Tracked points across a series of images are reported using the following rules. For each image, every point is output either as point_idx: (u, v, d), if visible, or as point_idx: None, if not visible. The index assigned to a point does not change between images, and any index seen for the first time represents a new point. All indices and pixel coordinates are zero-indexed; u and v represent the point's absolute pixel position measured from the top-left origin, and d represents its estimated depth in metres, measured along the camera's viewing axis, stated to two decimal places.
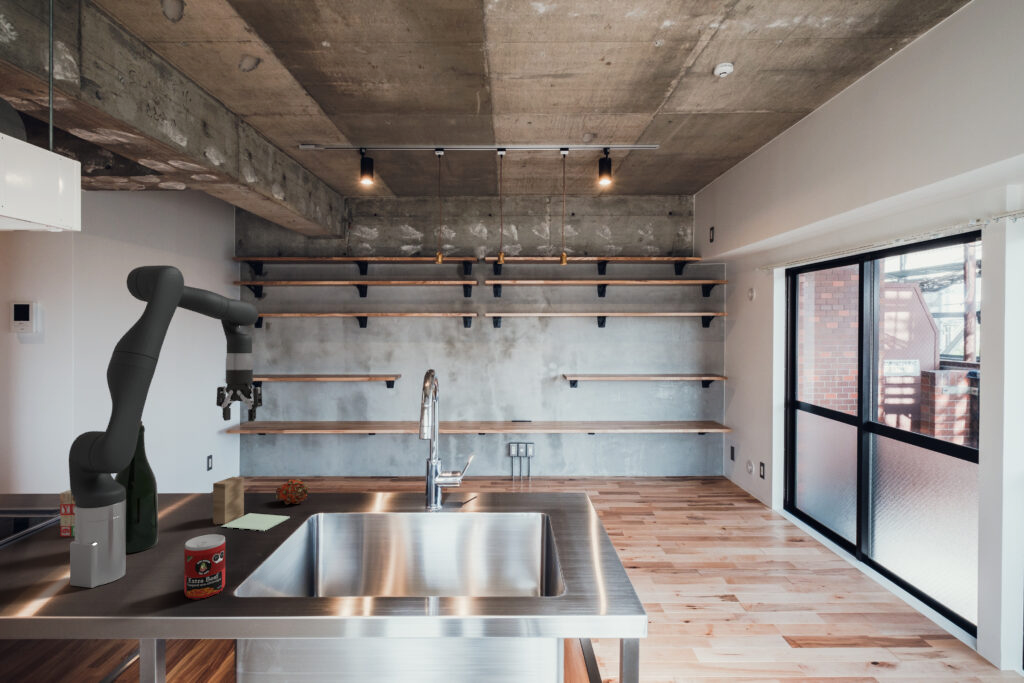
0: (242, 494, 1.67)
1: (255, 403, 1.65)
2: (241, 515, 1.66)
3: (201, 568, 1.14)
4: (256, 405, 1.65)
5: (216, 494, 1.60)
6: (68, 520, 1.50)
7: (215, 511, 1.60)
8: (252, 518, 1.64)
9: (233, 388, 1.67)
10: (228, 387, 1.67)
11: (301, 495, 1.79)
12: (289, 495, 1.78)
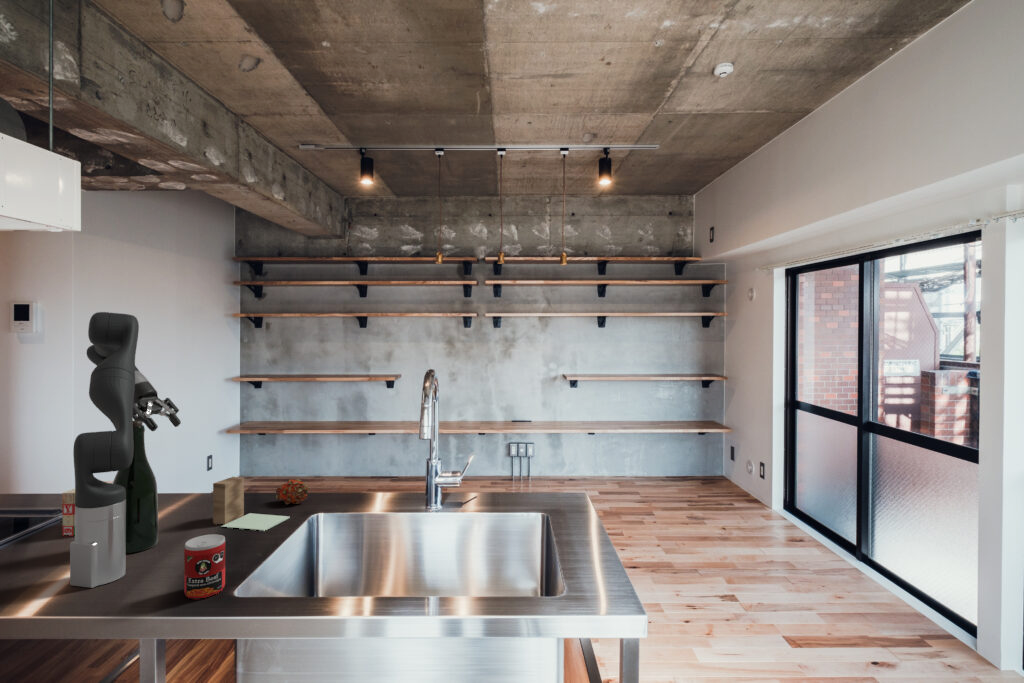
0: (242, 494, 1.67)
1: (176, 408, 1.76)
2: (241, 515, 1.66)
3: (201, 568, 1.14)
4: (177, 409, 1.76)
5: (216, 494, 1.60)
6: (70, 519, 1.50)
7: (215, 511, 1.60)
8: (252, 518, 1.64)
9: (147, 401, 1.69)
10: (141, 401, 1.68)
11: (301, 495, 1.79)
12: (289, 495, 1.78)
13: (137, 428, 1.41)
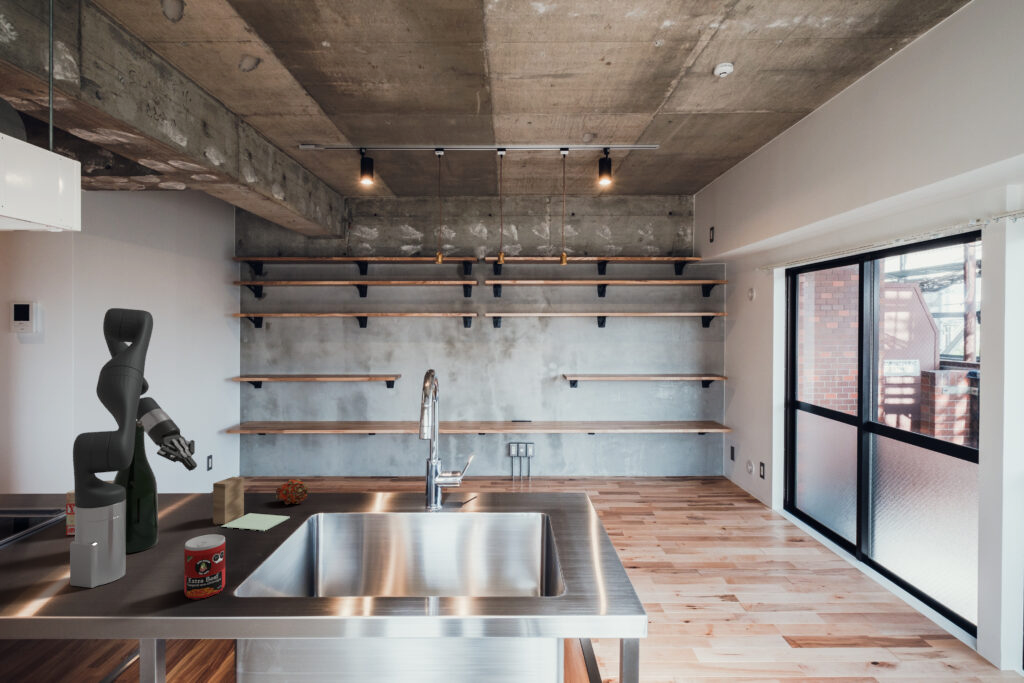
0: (242, 494, 1.67)
1: (192, 450, 1.70)
2: (241, 515, 1.66)
3: (201, 568, 1.14)
4: (193, 452, 1.70)
5: (216, 494, 1.60)
6: (74, 519, 1.51)
7: (215, 511, 1.60)
8: (252, 518, 1.64)
9: (170, 439, 1.67)
10: (164, 440, 1.64)
11: (301, 495, 1.79)
12: (289, 495, 1.78)
13: (137, 428, 1.41)
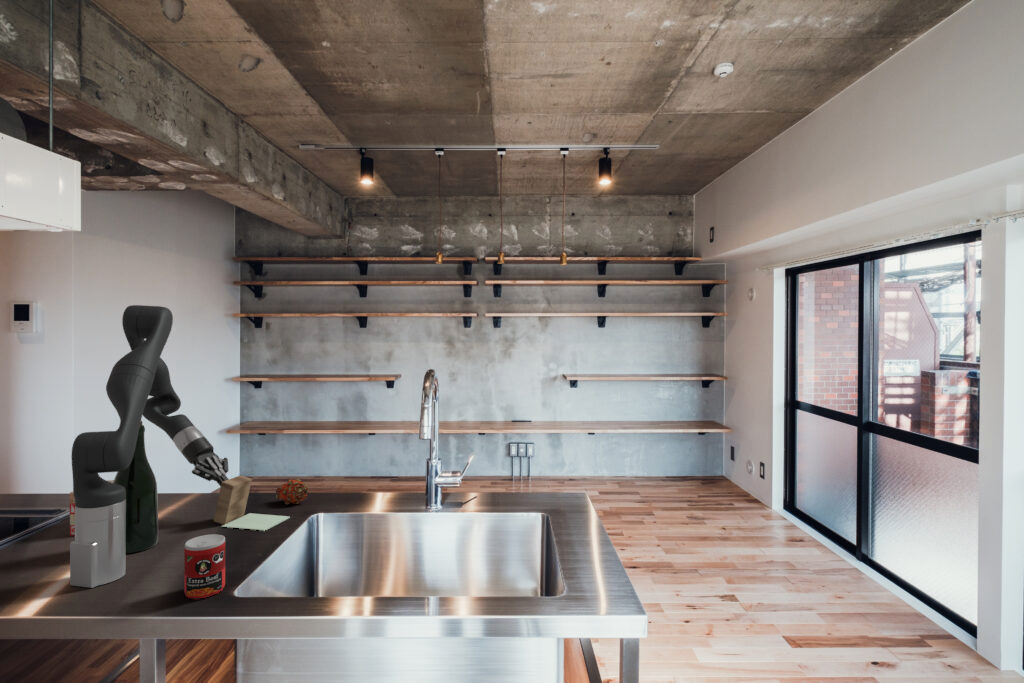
0: (246, 495, 1.66)
1: (226, 468, 1.67)
2: (241, 515, 1.66)
3: (201, 568, 1.14)
4: (227, 470, 1.67)
5: (222, 493, 1.60)
6: None
7: (218, 509, 1.60)
8: (252, 518, 1.64)
9: (204, 458, 1.64)
10: (198, 459, 1.62)
11: (301, 495, 1.79)
12: (289, 495, 1.78)
13: None
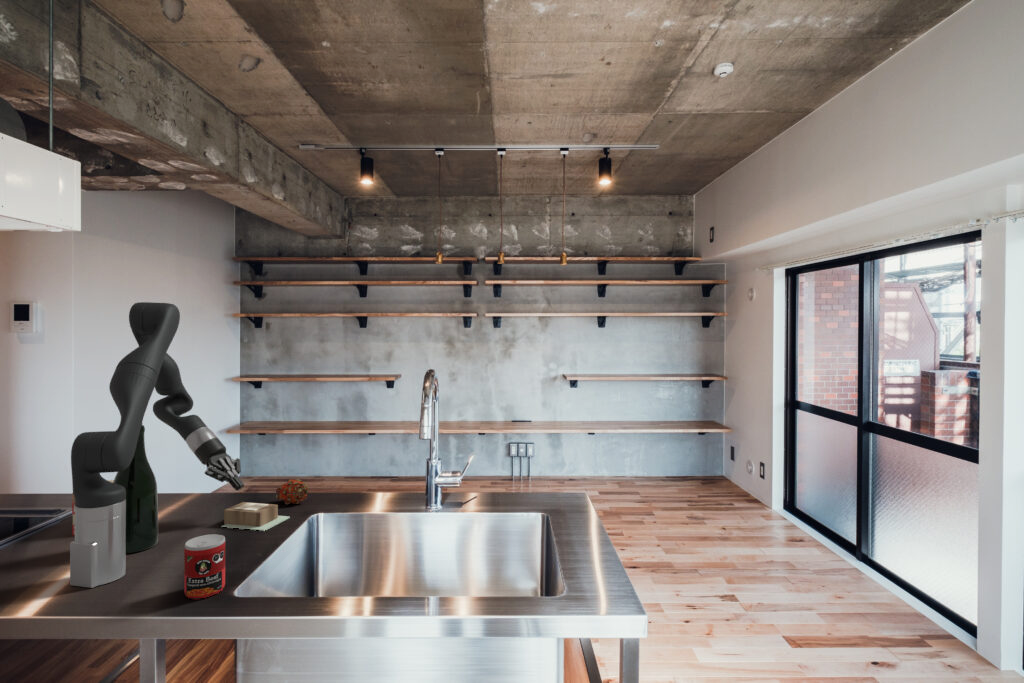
0: None
1: (239, 469, 1.67)
2: None
3: (201, 568, 1.14)
4: (239, 471, 1.66)
5: (250, 516, 1.58)
6: None
7: (235, 514, 1.59)
8: None
9: (217, 458, 1.63)
10: (211, 460, 1.61)
11: (301, 495, 1.79)
12: (289, 495, 1.78)
13: None
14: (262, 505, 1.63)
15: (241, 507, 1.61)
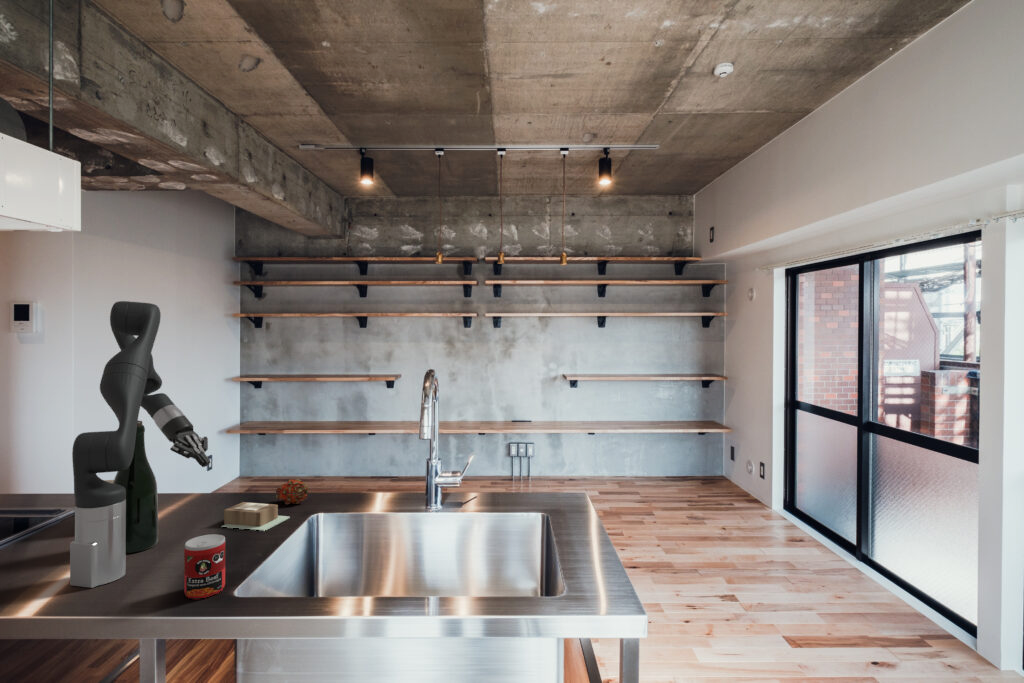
0: None
1: (205, 447, 1.69)
2: None
3: (201, 568, 1.14)
4: (206, 448, 1.69)
5: (250, 516, 1.58)
6: None
7: (235, 514, 1.59)
8: None
9: (184, 436, 1.66)
10: (177, 436, 1.64)
11: (301, 495, 1.79)
12: (289, 495, 1.78)
13: (137, 428, 1.41)
14: (262, 505, 1.63)
15: (241, 507, 1.61)
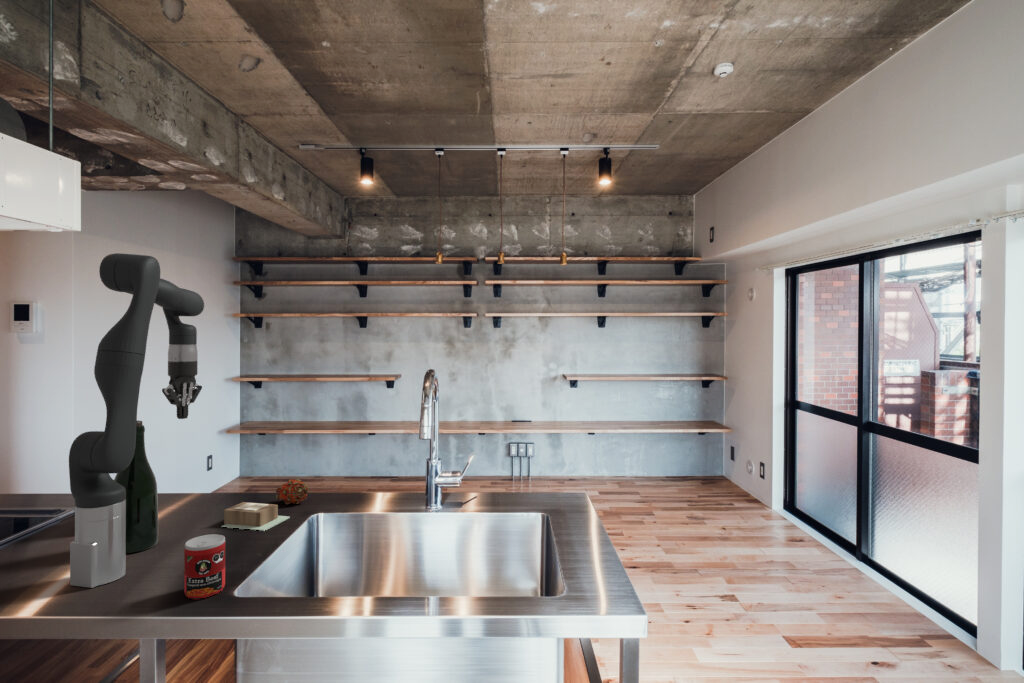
0: None
1: (193, 399, 1.64)
2: None
3: (201, 568, 1.14)
4: (193, 401, 1.64)
5: (250, 516, 1.58)
6: None
7: (235, 514, 1.59)
8: None
9: (182, 381, 1.60)
10: (176, 381, 1.58)
11: (301, 495, 1.79)
12: (289, 495, 1.78)
13: (137, 428, 1.41)
14: (262, 505, 1.63)
15: (241, 507, 1.61)
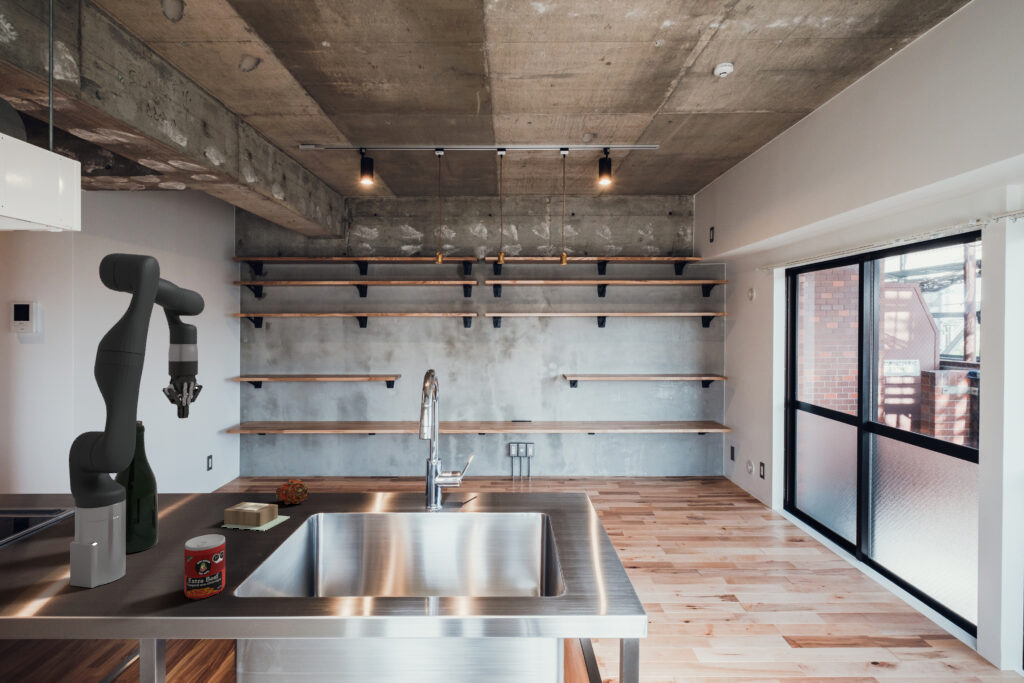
0: None
1: (194, 398, 1.64)
2: None
3: (201, 568, 1.14)
4: (193, 400, 1.64)
5: (250, 516, 1.58)
6: None
7: (235, 514, 1.59)
8: None
9: (183, 380, 1.60)
10: (177, 380, 1.58)
11: (301, 495, 1.79)
12: (289, 495, 1.78)
13: (137, 428, 1.41)
14: (262, 505, 1.63)
15: (241, 507, 1.61)
